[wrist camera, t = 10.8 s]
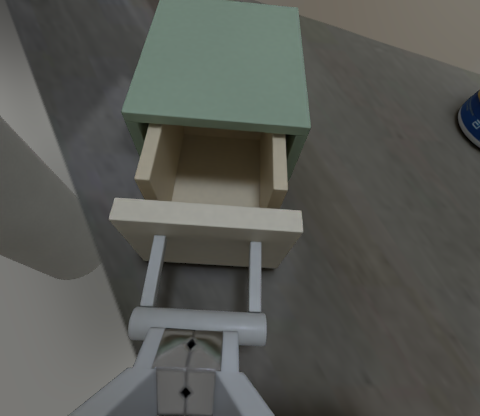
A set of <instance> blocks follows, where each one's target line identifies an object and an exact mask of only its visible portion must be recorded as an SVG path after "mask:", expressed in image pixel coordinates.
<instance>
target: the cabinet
mask: <svg viewBox="0 0 480 416" xmlns="http://www.w3.org/2000/svg"><path fill="white" fill-rule="evenodd" d="M121 113H122V115H123V118H124V120H125V123H126V125H127V127H128V130H129V132H130V135H131V137H132V139H133V142H134V144H135V147H136V149H137V151H138V154H139V156H141V152H142V148H143V145H144V141H145V137H146V134H147V130H148V126H149V123H154V124H167V125H179V126H191V127H203V128H215V129H228V130H240V131H252V132H264V133H276V134H285V137H286V157H287V178H288V181H289V179H290V177H291V174H292V172H293V170H294V167H295V165H296V162H297V160H298V158H299V155H300V153H301V150H302V148H303V146H304V143H305V141H306V139H307V136H308V134H309V131H310V129H311V124H310V114H309V105H308V96H307V87H306V77H305V68H304V59H303V50H302V41H301V31H300V22H299V13H298V8H294V7H285V6H275V5H266V4H256V3H246V2H236V1H227V0H160V1H159V4H158V7H157V10H156V13H155V15H154V18H153V21H152V24H151V27H150V30H149V33H148V36H147V39H146V41H145V44H144V47H143V50H142V53H141V56H140V59H139V62H138V65H137V67H136V70H135V73H134V76H133V79H132V82H131V85H130V88H129V91H128V93H127V96H126V99H125V102H124V105H123V108H122V111H121Z"/></svg>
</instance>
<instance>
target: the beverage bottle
mask: <svg viewBox="0 0 480 416" xmlns="http://www.w3.org/2000/svg"><path fill="white" fill-rule="evenodd" d="M458 122H459V125H460V127H461V129H462V131H463V132H464V134H465V135H466V136H467V137H468V139H469V140H470V141H472V142H473V143H474V144H475V145H476V146H478V147H479V148H480V90H479V91H477V92H476V93H475V94H474V95H473V96H471V97H470V98H469V99H468V100H467V101H466V102H465V103H464V104H463V105H462V106H461V108H460V110H459V113H458Z"/></svg>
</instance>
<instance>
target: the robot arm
mask: <svg viewBox="0 0 480 416" xmlns="http://www.w3.org/2000/svg"><path fill="white" fill-rule="evenodd" d="M157 415H186V416H275V415H274V414H273V412H272V411H271V410H270V408H269V407H268V405H267V404H266V403H265V401H264V400H263V399H262V397H261V396H260V394H259V393H258V392H257V390H256V389H255V387H254V386H253V385H252V383H251V382H250V381H249V379H248V378H247V376H246V375H245V374H244V373H243V372H239V340H238V331H215V330H191V329H177V328H159V327H151V328H150V329H149V330H148V332H147V334H146V337H145V339H144V342H143V344H142V346H141V349H140V351H139V353H138V356H137V358H136V361H135V363H134V365H133V368H127V369H126V370H124V371H123V372H122V373H120V374H119V375H118V376H117V377H116V378H114V379H113V380H112V381H110V382H109V383H108V384H107V385H106V386H104V387H103V388H102V389H100V390H99V391H98V392H97V393H95V394H94V395H93V396H92V397H90V398H89V399H88V400H87V401H85V402H84V403H83V404H82V405H80V406H79V407H78V408H77V409H75V411H73V412H72V413H71V414H69V415H68V416H157Z"/></svg>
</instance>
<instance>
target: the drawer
mask: <svg viewBox="0 0 480 416" xmlns="http://www.w3.org/2000/svg"><path fill="white" fill-rule="evenodd" d="M134 179H135V181H136V183H137V185H138V187H139V189H140V191H141V193H142V195H143V197H144V199H145V200H142V199H128V198H115V199H114V202H113V205H112V209H111V212H110V215H109V221H110V222H111V223H112V224H113V225H114V226H115V228H116V229H117V230H118V231H119V232H120V233H121V234H122V236H123V237H124V238H125V239H126V240H127V241H128V243H129V244H130V245H131V246H132V247H133V248H134V249H135V251H136V252H137V253H138V254H139V255H140V256H141V258H142V259H143V260H144V261H149V263H148V268H147V273H146V278H145V283H144V288H143V293H142V298H141V303H140V306H142V307H135V308H134V310H133V312H132V314H131V317H130V321H129V326H128V337H129V339H130V340H140V341H144V339H145V337H146V334H147V332H148V330H149V329H150V328H151V327H159V328H177V329H191V330H215V331H238V340H239V345H244V346H265V343H266V337H267V321H266V316H265V314H264V313H260V312H261V268H275V269H276V268H277V267H278V266H279V265H280V263H281V262H282V261H283V259H284V258H285V256H286V255H287V254H288V252H289V251H290V250H291V248H292V247H293V246H294V244H295V243H296V241H297V240H298V239H299V237H300V236H301V235H302V233H303V221H302V211H299V210H285V209H280V207H281V205H282V202H283V200H284V198H285V196H286V193H287V191H288V178H287V157H286V137H285V134H276V133H264V132H252V131H240V130H228V129H215V128H203V127H191V126H179V125H167V124H154V123H149V126H148V130H147V134H146V137H145V141H144V145H143V148H142V152H141V156H140V160H139V163H138V167H137V171H136V174H135V178H134ZM163 262H176V263H193V264H209V265H226V266H242V267H249V276H248V312H232V311H213V310H195V309H176V308H157V307H155V306H156V301H157V295H158V289H159V284H160V278H161V273H162V267H163Z"/></svg>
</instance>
